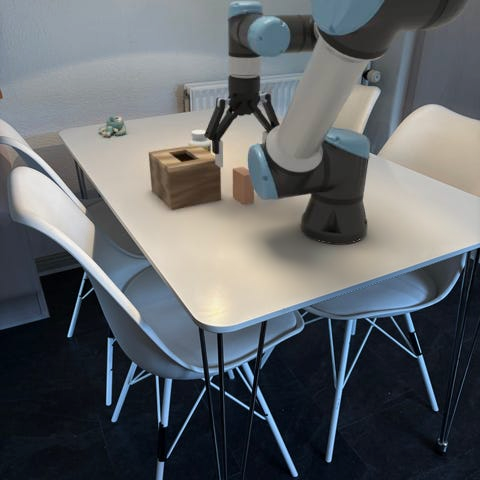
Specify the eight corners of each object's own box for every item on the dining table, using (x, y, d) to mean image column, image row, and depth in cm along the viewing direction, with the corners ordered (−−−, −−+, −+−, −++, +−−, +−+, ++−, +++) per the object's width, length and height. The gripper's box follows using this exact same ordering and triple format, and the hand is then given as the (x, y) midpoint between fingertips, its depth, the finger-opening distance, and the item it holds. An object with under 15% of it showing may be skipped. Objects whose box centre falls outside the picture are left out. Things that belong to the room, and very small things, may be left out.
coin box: (221, 199, 131) (220, 159, 125) (171, 209, 125) (168, 168, 119) (198, 182, 141) (197, 144, 136) (151, 191, 135) (148, 152, 130)
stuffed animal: (89, 123, 176) (103, 109, 185) (93, 141, 181) (107, 126, 190) (117, 125, 174) (130, 110, 183) (121, 143, 179) (133, 128, 188)
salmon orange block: (253, 202, 129) (254, 173, 125) (243, 205, 128) (244, 175, 124) (242, 194, 134) (242, 166, 130) (232, 196, 132) (232, 168, 128)
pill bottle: (208, 174, 147) (207, 135, 142) (187, 172, 148) (185, 134, 143) (213, 166, 153) (212, 129, 147) (193, 165, 154) (192, 128, 148)
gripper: (280, 67, 124) (276, 149, 134) (188, 76, 113) (191, 164, 123) (297, 73, 118) (291, 158, 128) (203, 82, 107) (205, 174, 118)
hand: (242, 161), depth 126 cm, fingers open, 13 cm apart
